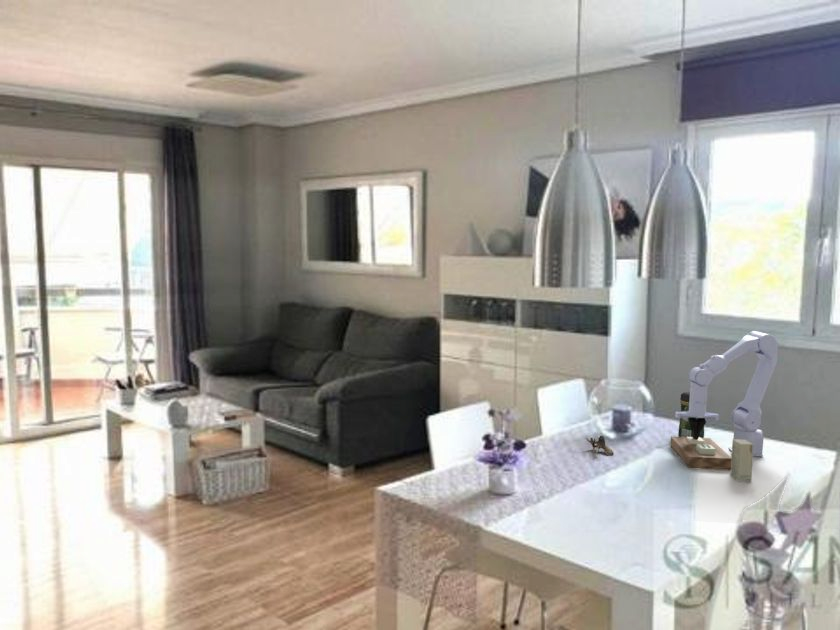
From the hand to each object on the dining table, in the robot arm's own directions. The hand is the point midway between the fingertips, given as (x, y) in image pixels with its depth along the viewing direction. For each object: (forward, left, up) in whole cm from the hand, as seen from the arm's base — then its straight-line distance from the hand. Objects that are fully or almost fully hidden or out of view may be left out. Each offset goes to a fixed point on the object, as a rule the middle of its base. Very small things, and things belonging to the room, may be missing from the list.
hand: (695, 438), depth 253 cm
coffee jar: (-4, -19, -6) cm, 20 cm away
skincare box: (-7, +26, -6) cm, 28 cm away
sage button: (0, +12, -3) cm, 12 cm away
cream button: (0, 0, -4) cm, 4 cm away
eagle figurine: (+34, +5, -6) cm, 35 cm away
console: (0, +6, -5) cm, 8 cm away
